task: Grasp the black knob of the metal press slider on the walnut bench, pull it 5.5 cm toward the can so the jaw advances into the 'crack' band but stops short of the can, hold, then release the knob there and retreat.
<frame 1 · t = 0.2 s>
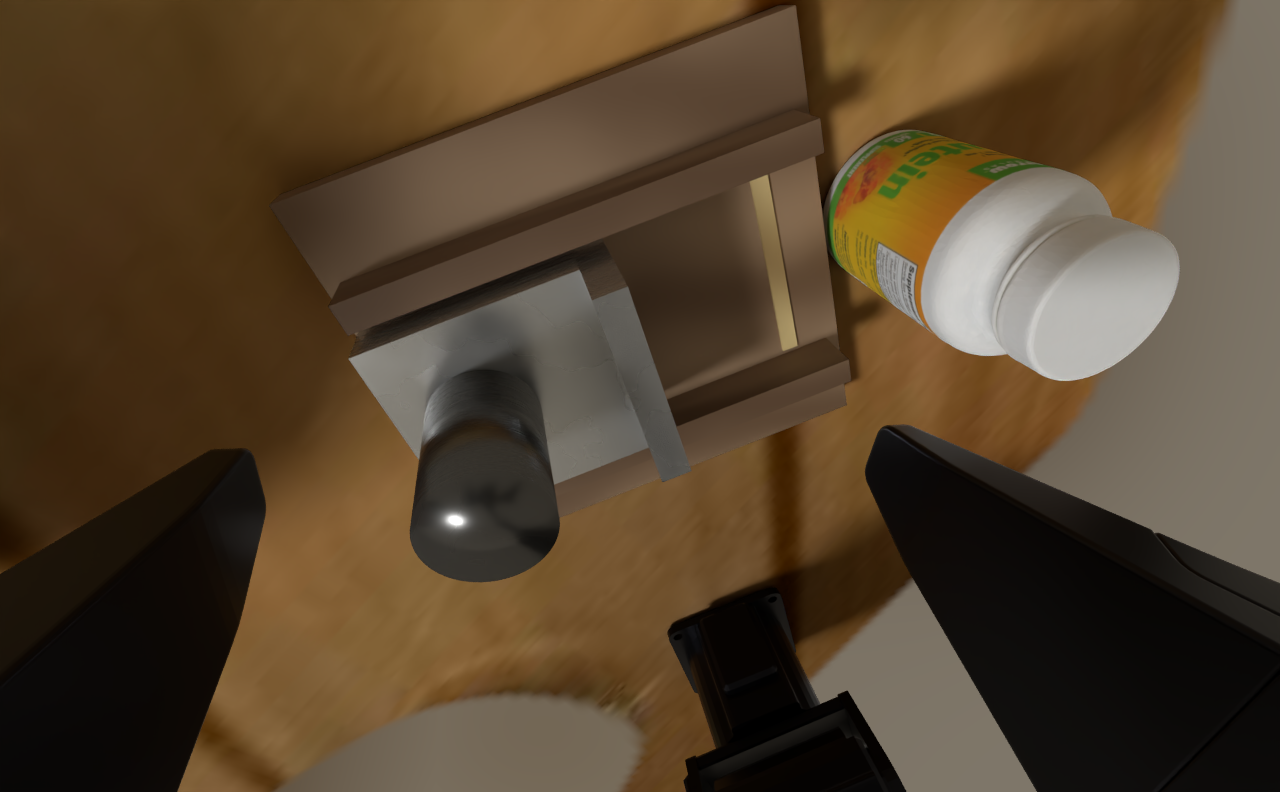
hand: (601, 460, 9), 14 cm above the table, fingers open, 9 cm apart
supplement bottle: (882, 203, 23), on the table
metal press slider: (532, 425, 18), point 5 cm above the table, slide at 0.0 cm
press bed: (610, 311, 23), on the table
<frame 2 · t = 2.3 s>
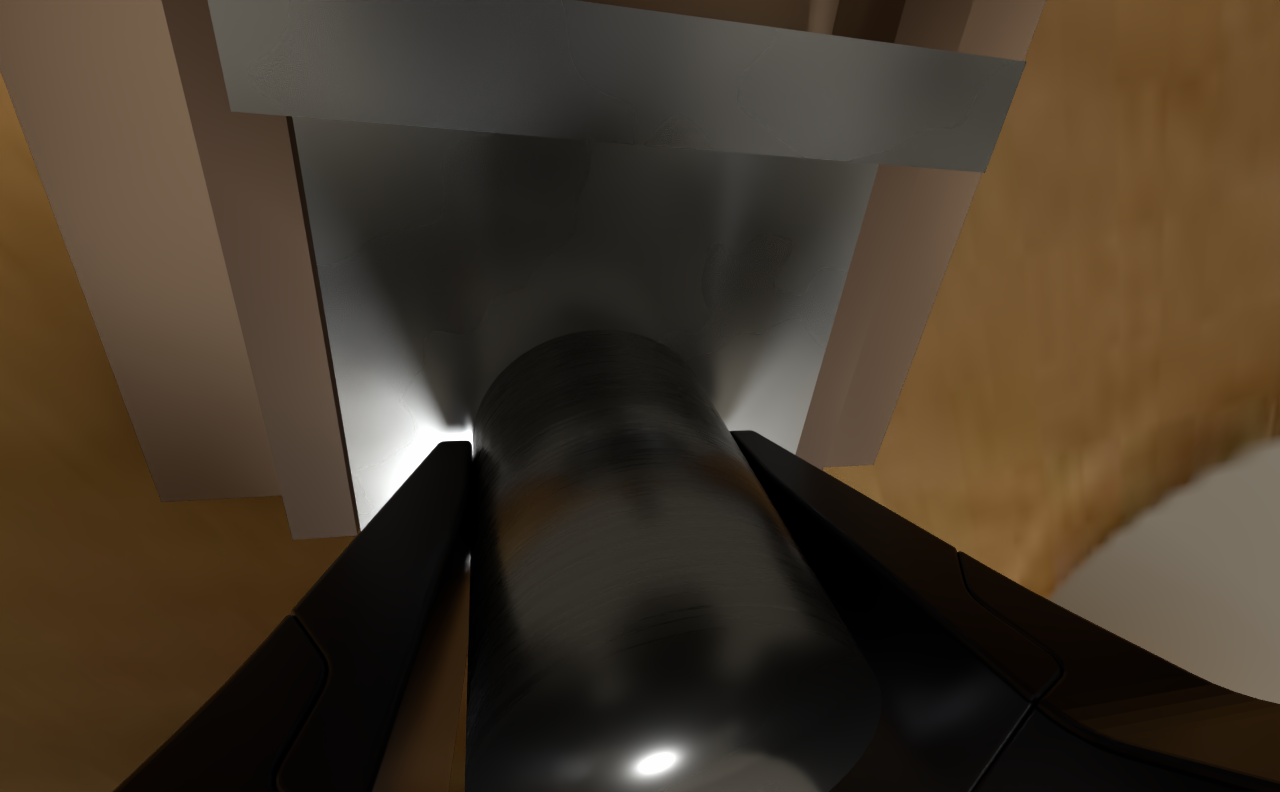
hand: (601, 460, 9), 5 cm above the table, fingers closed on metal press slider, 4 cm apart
metal press slider: (619, 396, 7), point 5 cm above the table, slide at 0.0 cm, touching gripper
press bed: (579, 53, 10), on the table
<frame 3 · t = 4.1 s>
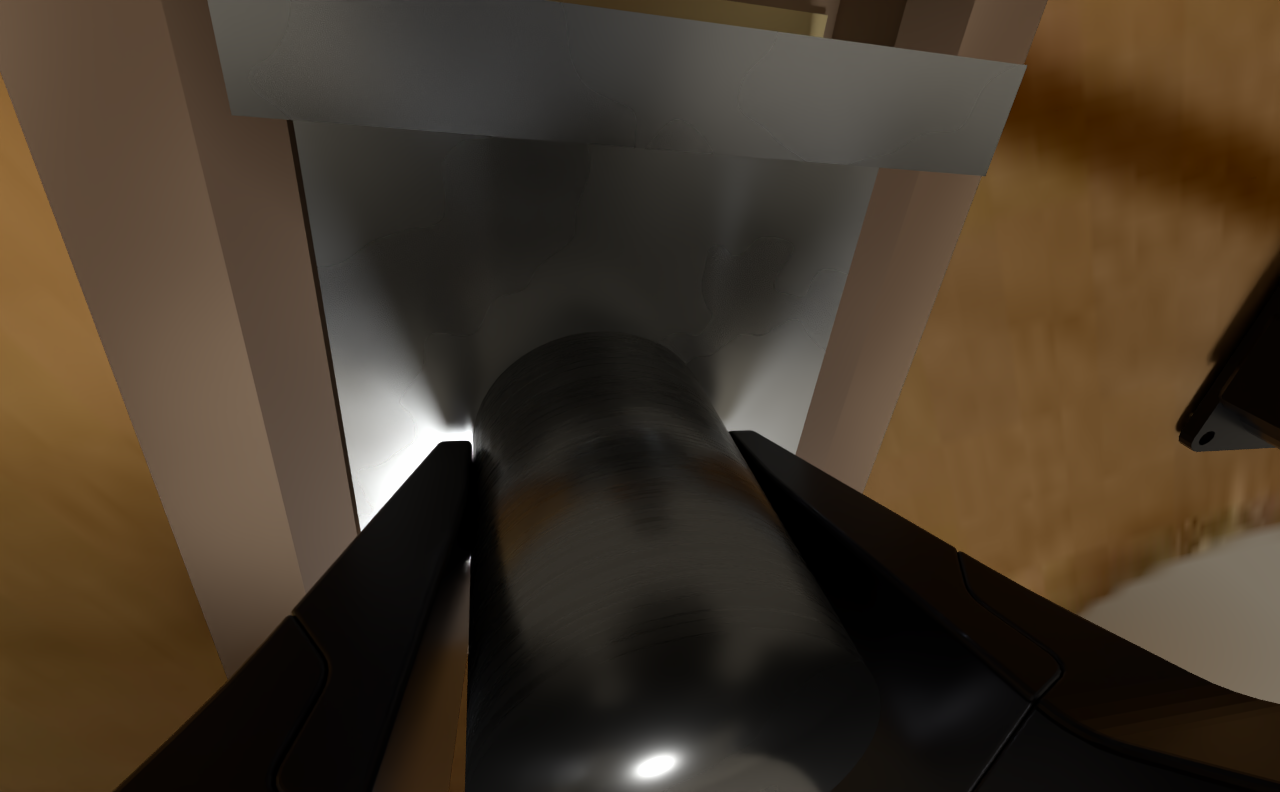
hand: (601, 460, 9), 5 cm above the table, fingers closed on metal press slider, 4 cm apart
metal press slider: (619, 398, 7), point 5 cm above the table, slide at 5.4 cm, touching gripper
press bed: (565, 345, 13), on the table
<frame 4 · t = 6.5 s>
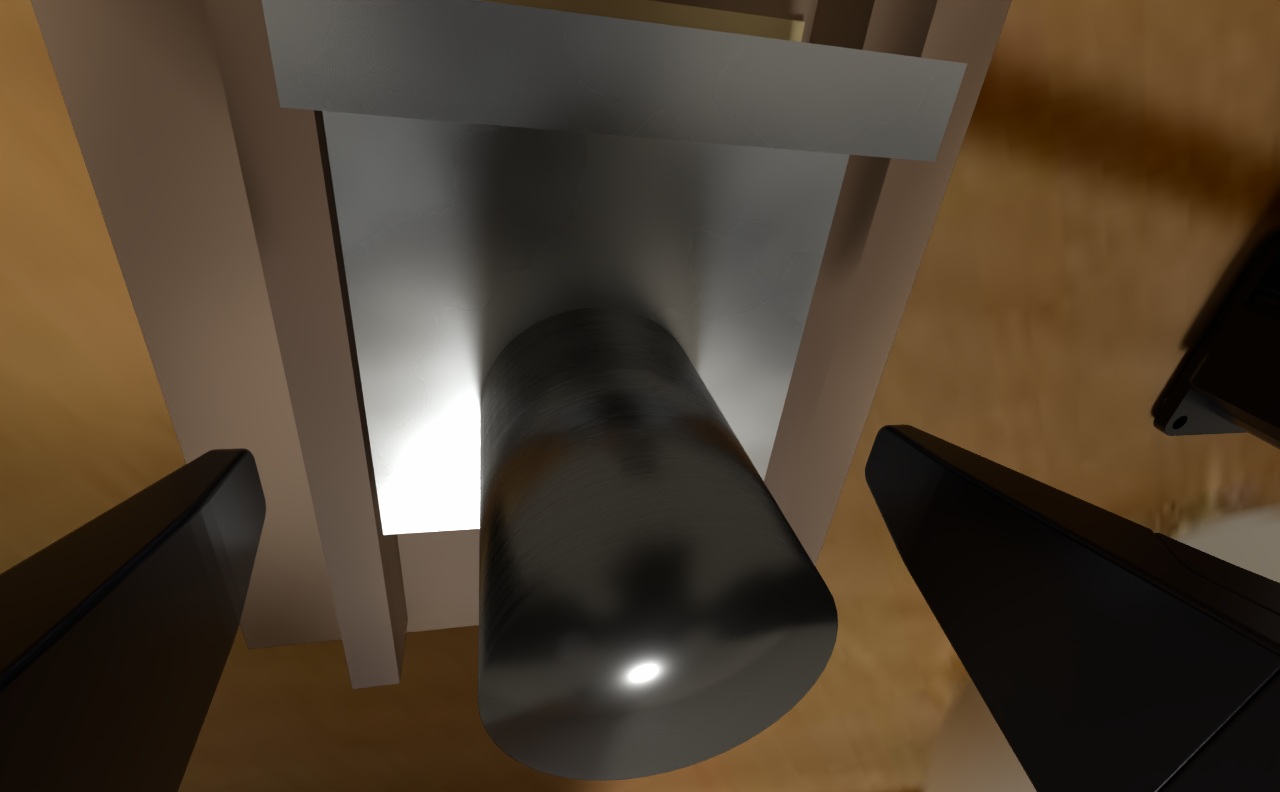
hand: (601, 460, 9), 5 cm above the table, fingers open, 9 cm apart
metal press slider: (613, 365, 8), point 5 cm above the table, slide at 5.4 cm
press bed: (565, 330, 14), on the table
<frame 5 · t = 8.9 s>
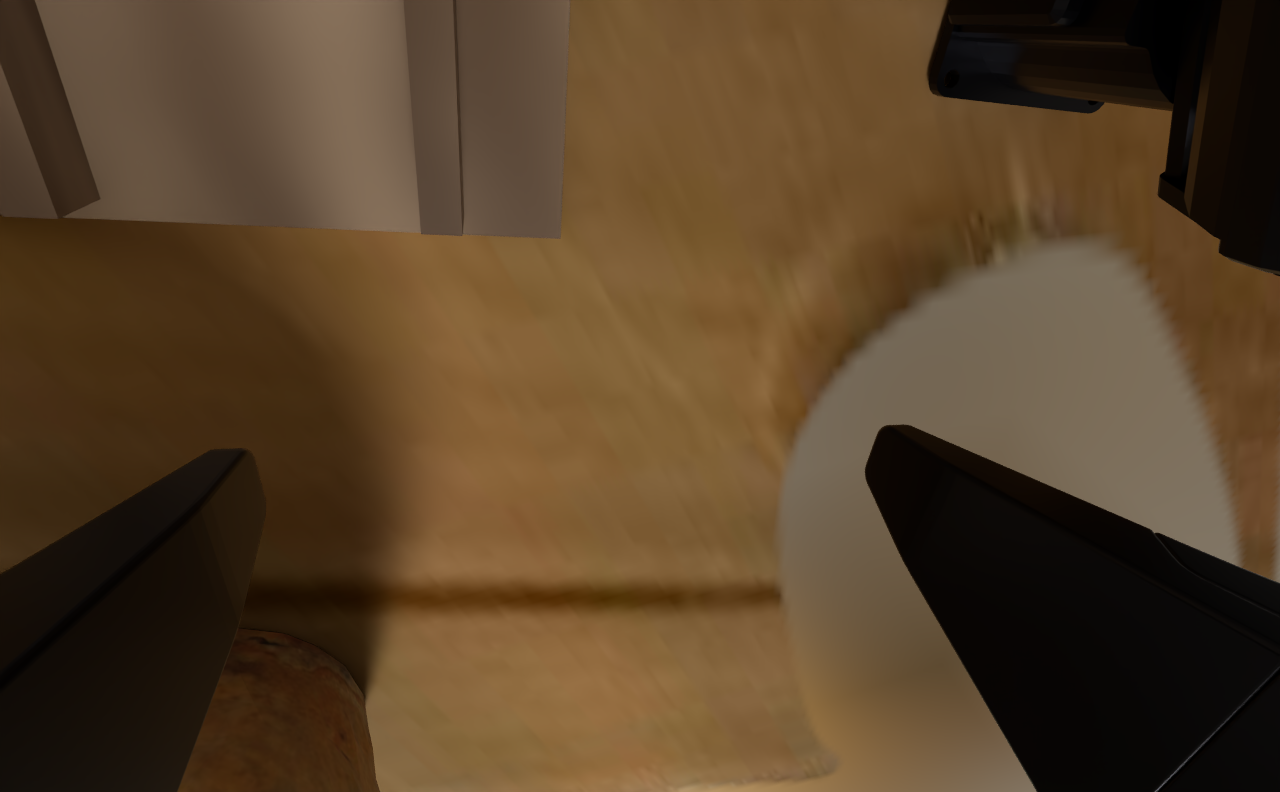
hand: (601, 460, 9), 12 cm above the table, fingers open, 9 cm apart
potted plant: (230, 707, 27), on the table
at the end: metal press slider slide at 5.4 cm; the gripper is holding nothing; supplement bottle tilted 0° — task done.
